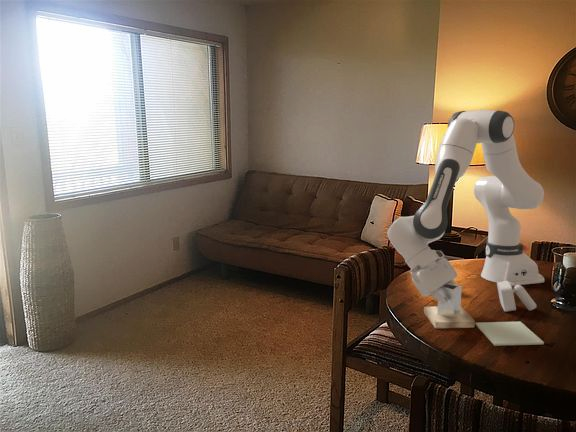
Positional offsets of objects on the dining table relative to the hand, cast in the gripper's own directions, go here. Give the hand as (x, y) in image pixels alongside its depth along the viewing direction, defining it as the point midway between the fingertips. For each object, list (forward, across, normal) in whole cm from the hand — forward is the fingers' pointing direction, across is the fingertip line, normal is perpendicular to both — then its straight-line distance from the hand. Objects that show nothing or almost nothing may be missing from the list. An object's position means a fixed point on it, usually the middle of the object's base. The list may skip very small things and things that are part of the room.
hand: (451, 298), depth 159 cm
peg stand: (+5, 0, +6) cm, 7 cm away
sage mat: (+17, +1, -7) cm, 19 cm away
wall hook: (+15, +22, -4) cm, 27 cm away
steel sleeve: (+3, 0, +4) cm, 5 cm away
